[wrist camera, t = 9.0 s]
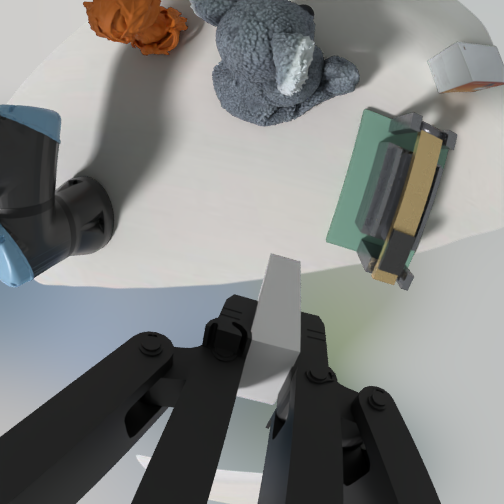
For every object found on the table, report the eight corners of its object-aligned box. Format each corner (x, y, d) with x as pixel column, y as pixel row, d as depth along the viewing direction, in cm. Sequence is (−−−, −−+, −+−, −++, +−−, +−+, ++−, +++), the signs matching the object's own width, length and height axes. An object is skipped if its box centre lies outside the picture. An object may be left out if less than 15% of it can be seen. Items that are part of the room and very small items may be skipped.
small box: (437, 93, 29) (472, 82, 19) (426, 60, 28) (456, 40, 18) (474, 92, 27) (511, 84, 17) (463, 60, 25) (497, 45, 16)
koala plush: (364, 85, 32) (410, 38, 14) (267, 156, 38) (233, 162, 20) (285, 6, 29) (266, -72, 11) (194, 74, 35) (118, 36, 17)
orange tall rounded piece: (197, 2, 30) (143, -51, 13) (194, 54, 34) (130, 12, 17) (138, 18, 32) (73, -16, 15) (134, 68, 36) (58, 46, 19)
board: (363, 110, 33) (365, 109, 32) (445, 146, 32) (449, 146, 31) (325, 239, 41) (326, 241, 40) (405, 265, 40) (407, 268, 38)
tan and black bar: (418, 120, 25) (424, 119, 23) (441, 132, 25) (448, 131, 23) (369, 274, 32) (372, 280, 31) (392, 281, 32) (396, 287, 30)
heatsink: (383, 117, 33) (407, 108, 23) (430, 138, 32) (464, 137, 22) (344, 245, 40) (354, 274, 31) (390, 259, 40) (410, 291, 30)
